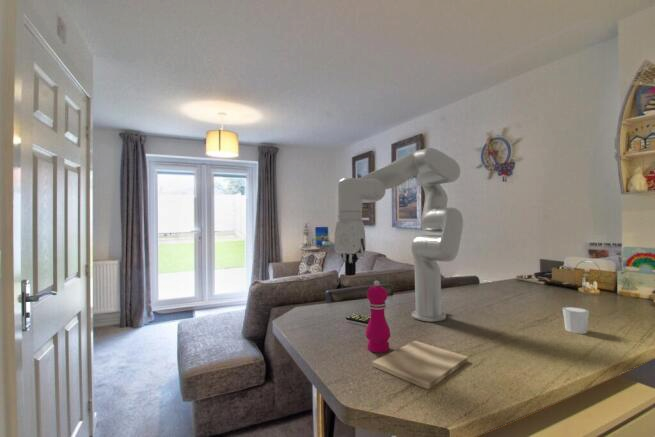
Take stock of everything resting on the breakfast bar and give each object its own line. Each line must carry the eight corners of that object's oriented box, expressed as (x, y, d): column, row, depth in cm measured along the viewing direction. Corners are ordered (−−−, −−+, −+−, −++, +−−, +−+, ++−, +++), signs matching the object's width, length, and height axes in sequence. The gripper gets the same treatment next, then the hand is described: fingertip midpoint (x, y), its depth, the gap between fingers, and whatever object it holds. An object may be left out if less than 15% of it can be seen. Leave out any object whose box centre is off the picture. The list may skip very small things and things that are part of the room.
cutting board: (414, 344, 96) (414, 340, 96) (467, 361, 84) (467, 356, 84) (372, 366, 82) (372, 361, 82) (428, 389, 70) (428, 384, 70)
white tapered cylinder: (583, 328, 106) (583, 307, 106) (593, 335, 100) (592, 313, 100) (559, 326, 109) (559, 305, 109) (567, 333, 102) (567, 311, 102)
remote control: (374, 329, 111) (374, 323, 111) (344, 322, 119) (344, 317, 119) (382, 324, 116) (382, 318, 116) (353, 318, 124) (353, 313, 124)
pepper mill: (393, 345, 95) (391, 279, 95) (387, 355, 88) (385, 283, 89) (370, 342, 98) (368, 277, 98) (362, 351, 91) (361, 282, 92)
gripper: (325, 217, 104) (326, 273, 104) (359, 216, 93) (360, 279, 92) (341, 217, 109) (342, 271, 109) (375, 217, 98) (376, 276, 98)
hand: (350, 274), depth 101 cm, fingers closed
